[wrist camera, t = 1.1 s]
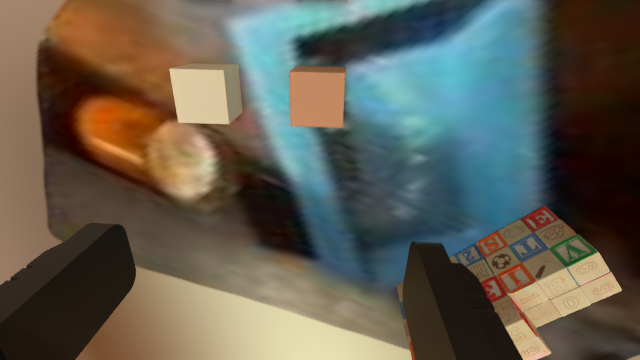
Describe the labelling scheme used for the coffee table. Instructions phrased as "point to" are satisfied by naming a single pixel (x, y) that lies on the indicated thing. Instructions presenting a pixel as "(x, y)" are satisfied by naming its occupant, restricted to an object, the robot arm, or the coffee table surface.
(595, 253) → the stack of blocks
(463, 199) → the coffee table surface
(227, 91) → the cream cube
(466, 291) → the robot arm
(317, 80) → the terracotta cube
